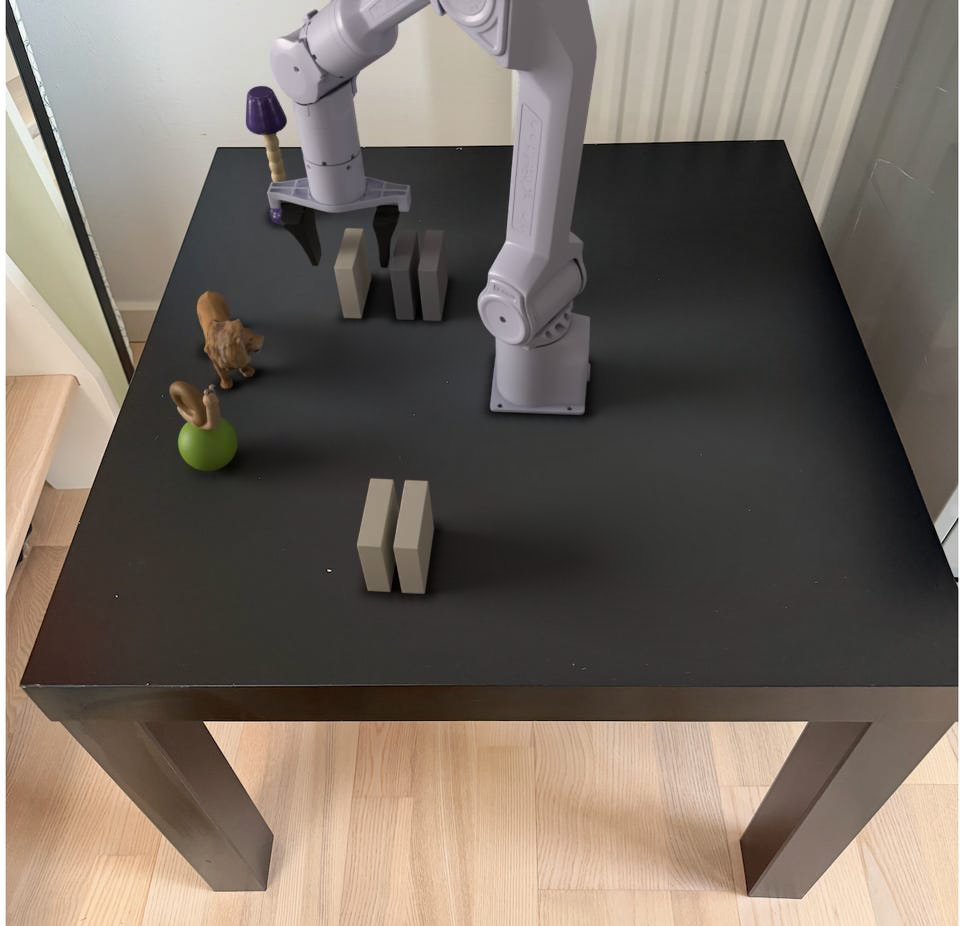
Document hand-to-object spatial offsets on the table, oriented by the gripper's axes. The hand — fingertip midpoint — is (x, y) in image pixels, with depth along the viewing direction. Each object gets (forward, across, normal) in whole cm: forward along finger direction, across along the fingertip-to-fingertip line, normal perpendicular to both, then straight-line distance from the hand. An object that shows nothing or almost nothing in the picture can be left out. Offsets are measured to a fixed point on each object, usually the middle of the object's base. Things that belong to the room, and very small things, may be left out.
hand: (351, 261), depth 100 cm
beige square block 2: (+5, -12, +35) cm, 37 cm away
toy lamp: (+5, +11, -15) cm, 20 cm away
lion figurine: (+5, +11, +11) cm, 17 cm away
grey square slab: (+5, -6, 0) cm, 8 cm away
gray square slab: (+5, -9, 0) cm, 10 cm away
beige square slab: (+5, 0, 0) cm, 5 cm away
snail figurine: (+5, +10, +25) cm, 27 cm away
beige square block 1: (+5, -9, +35) cm, 36 cm away
